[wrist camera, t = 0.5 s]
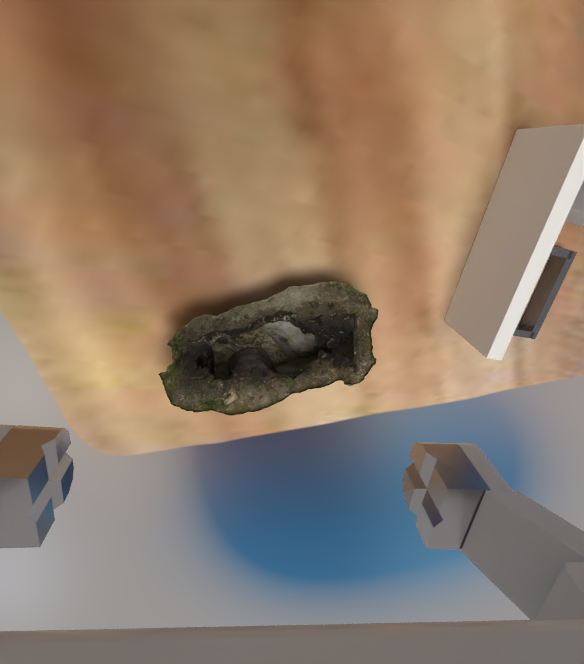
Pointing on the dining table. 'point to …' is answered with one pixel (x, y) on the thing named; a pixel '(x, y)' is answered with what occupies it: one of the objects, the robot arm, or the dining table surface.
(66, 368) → the dining table surface
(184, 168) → the dining table surface
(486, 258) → the wall board
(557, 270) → the cleat bracket
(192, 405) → the hollow geode rock
